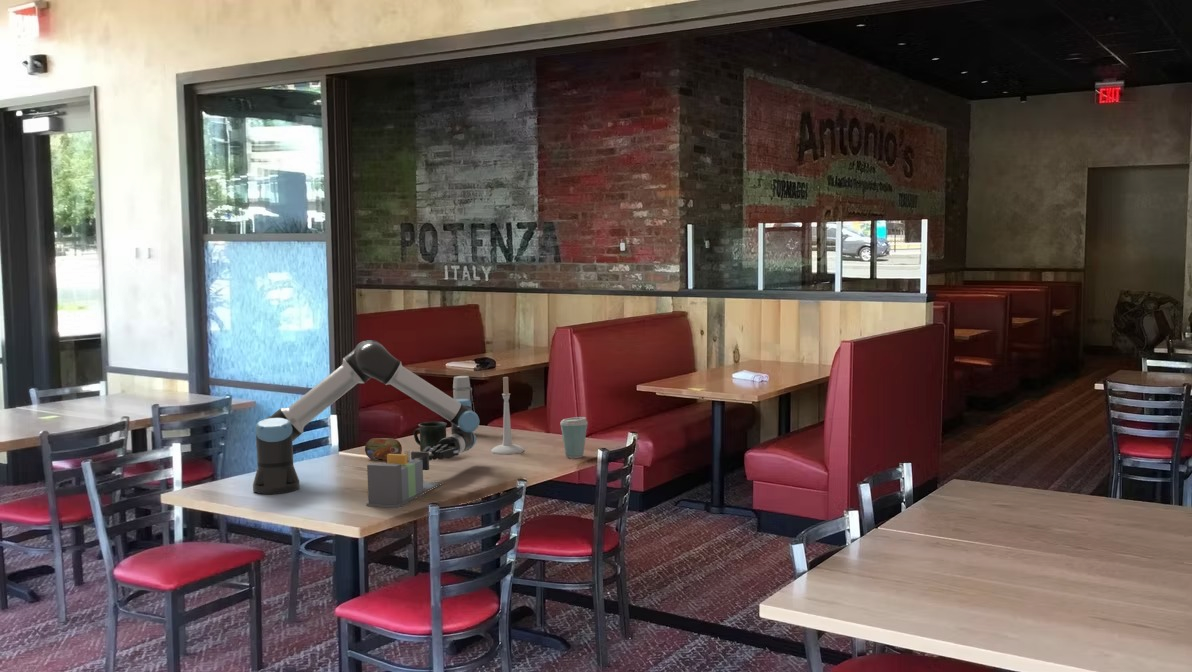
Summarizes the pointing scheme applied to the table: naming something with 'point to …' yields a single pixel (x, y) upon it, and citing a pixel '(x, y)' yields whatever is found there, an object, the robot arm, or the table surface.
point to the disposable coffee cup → (574, 436)
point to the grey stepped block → (396, 483)
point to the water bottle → (462, 388)
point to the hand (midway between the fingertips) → (421, 459)
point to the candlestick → (506, 427)
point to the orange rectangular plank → (397, 459)
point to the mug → (430, 434)
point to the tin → (382, 448)
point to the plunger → (418, 457)
